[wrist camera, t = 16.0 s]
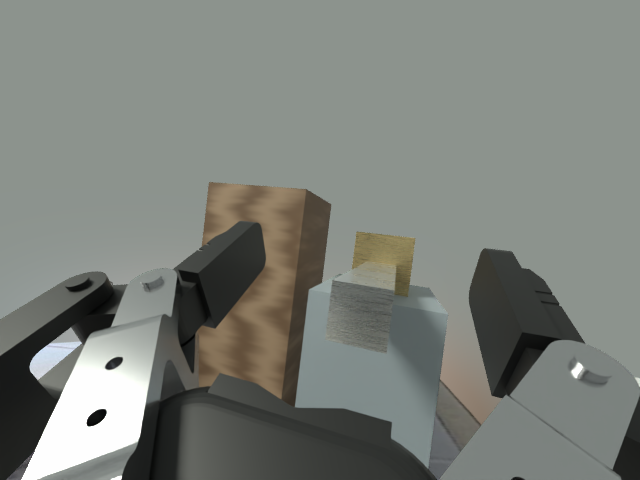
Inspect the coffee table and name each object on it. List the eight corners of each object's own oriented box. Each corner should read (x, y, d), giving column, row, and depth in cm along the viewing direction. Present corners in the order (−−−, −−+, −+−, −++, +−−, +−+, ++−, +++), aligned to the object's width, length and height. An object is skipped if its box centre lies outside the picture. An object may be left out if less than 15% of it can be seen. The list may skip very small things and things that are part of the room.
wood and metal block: (297, 333, 14) (310, 217, 14) (358, 279, 36) (364, 234, 36) (420, 361, 12) (437, 229, 12) (405, 286, 34) (411, 239, 34)
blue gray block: (282, 514, 26) (309, 289, 25) (321, 421, 39) (339, 273, 39) (415, 571, 23) (448, 314, 22) (408, 449, 36) (429, 288, 36)
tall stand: (182, 414, 37) (209, 182, 37) (236, 371, 50) (256, 198, 49) (275, 447, 34) (306, 189, 33) (308, 392, 46) (331, 204, 46)
